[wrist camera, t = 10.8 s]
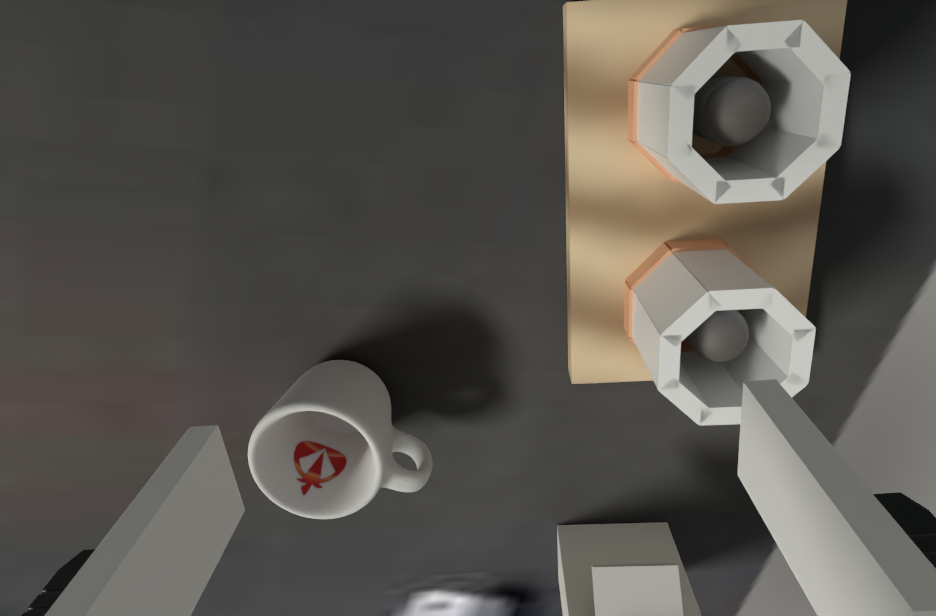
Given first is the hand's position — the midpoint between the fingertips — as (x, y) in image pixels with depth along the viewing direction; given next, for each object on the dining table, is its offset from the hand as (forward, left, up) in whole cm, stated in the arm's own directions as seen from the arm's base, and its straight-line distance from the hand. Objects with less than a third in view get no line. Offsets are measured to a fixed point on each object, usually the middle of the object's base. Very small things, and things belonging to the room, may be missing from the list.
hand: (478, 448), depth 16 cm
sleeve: (+5, +12, -22) cm, 26 cm away
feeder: (+23, +8, -24) cm, 35 cm away
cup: (+12, -9, -25) cm, 29 cm away
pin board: (-1, +12, -24) cm, 27 cm away
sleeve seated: (-6, +12, -22) cm, 26 cm away
